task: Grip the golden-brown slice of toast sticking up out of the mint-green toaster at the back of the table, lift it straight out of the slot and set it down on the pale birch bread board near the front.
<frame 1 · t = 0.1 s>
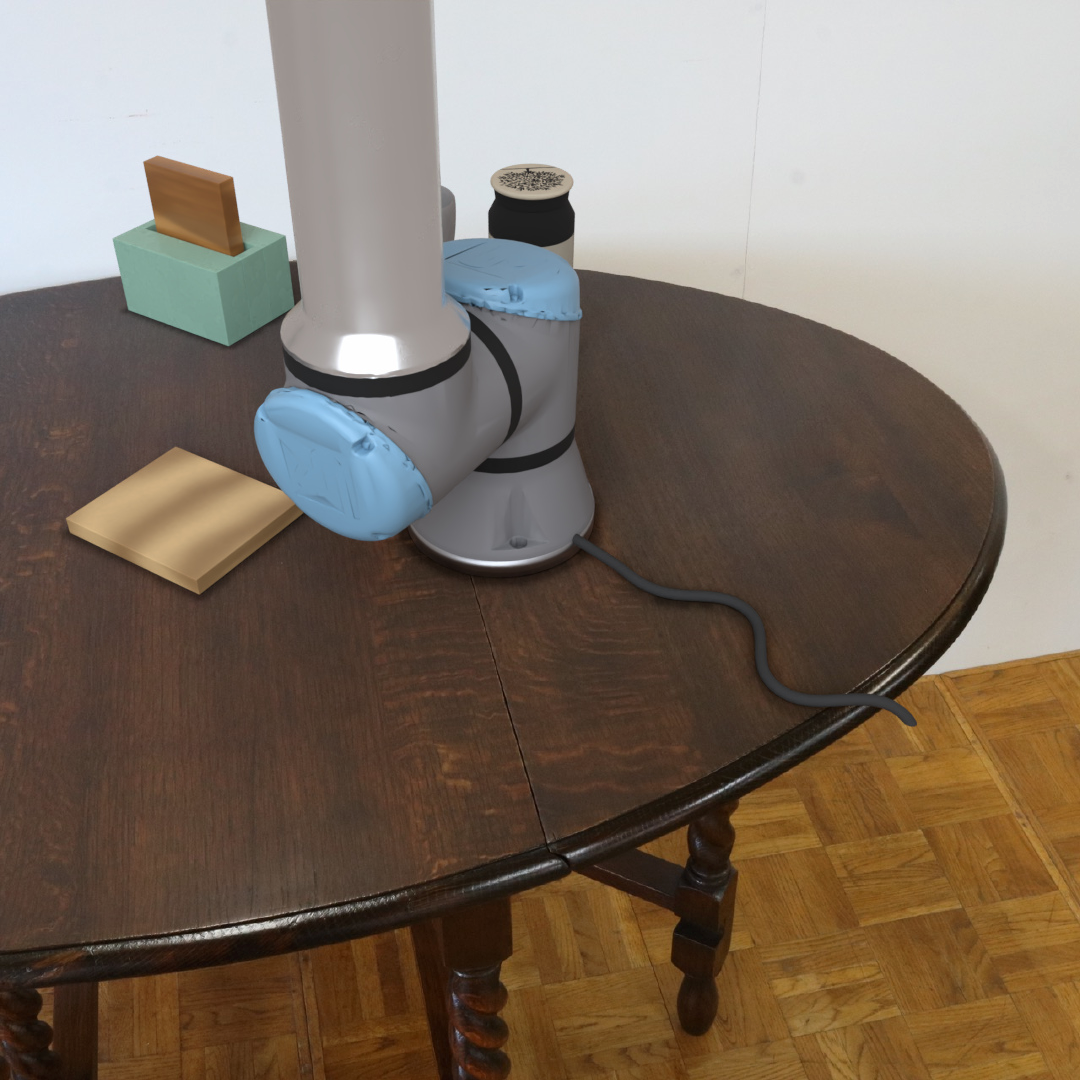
toaster: (211, 308, 124), on the table
mug: (403, 282, 130), on the table
remote control: (380, 343, 119), on the table
board: (188, 523, 96), on the table
travel mug: (530, 356, 118), on the table
toast: (207, 282, 122), point 3 cm above the table, touching toaster
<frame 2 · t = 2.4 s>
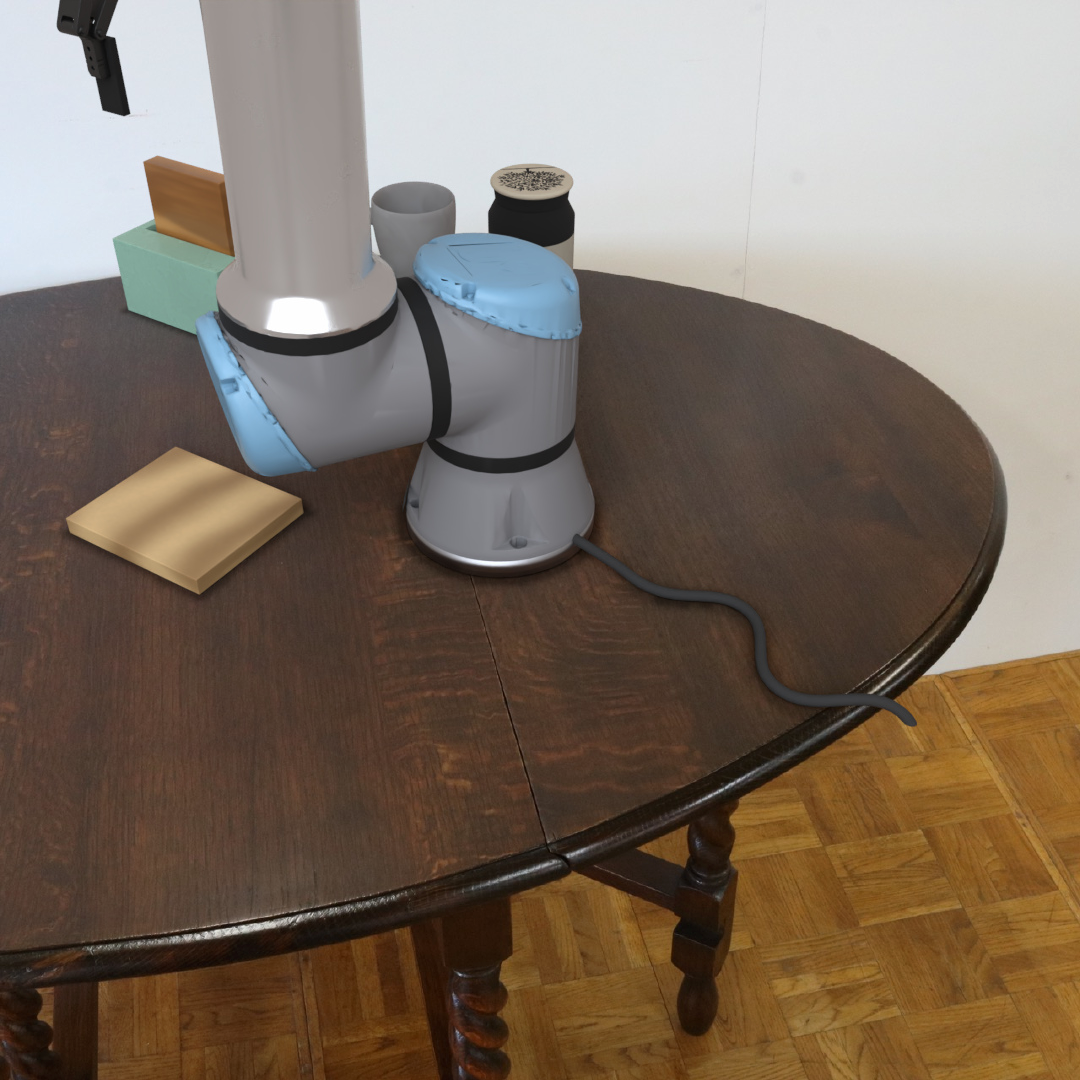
hand: (172, 91, 110), 22 cm above the table, tool pointing down, fingers open, 13 cm apart
nothing on the table moved.
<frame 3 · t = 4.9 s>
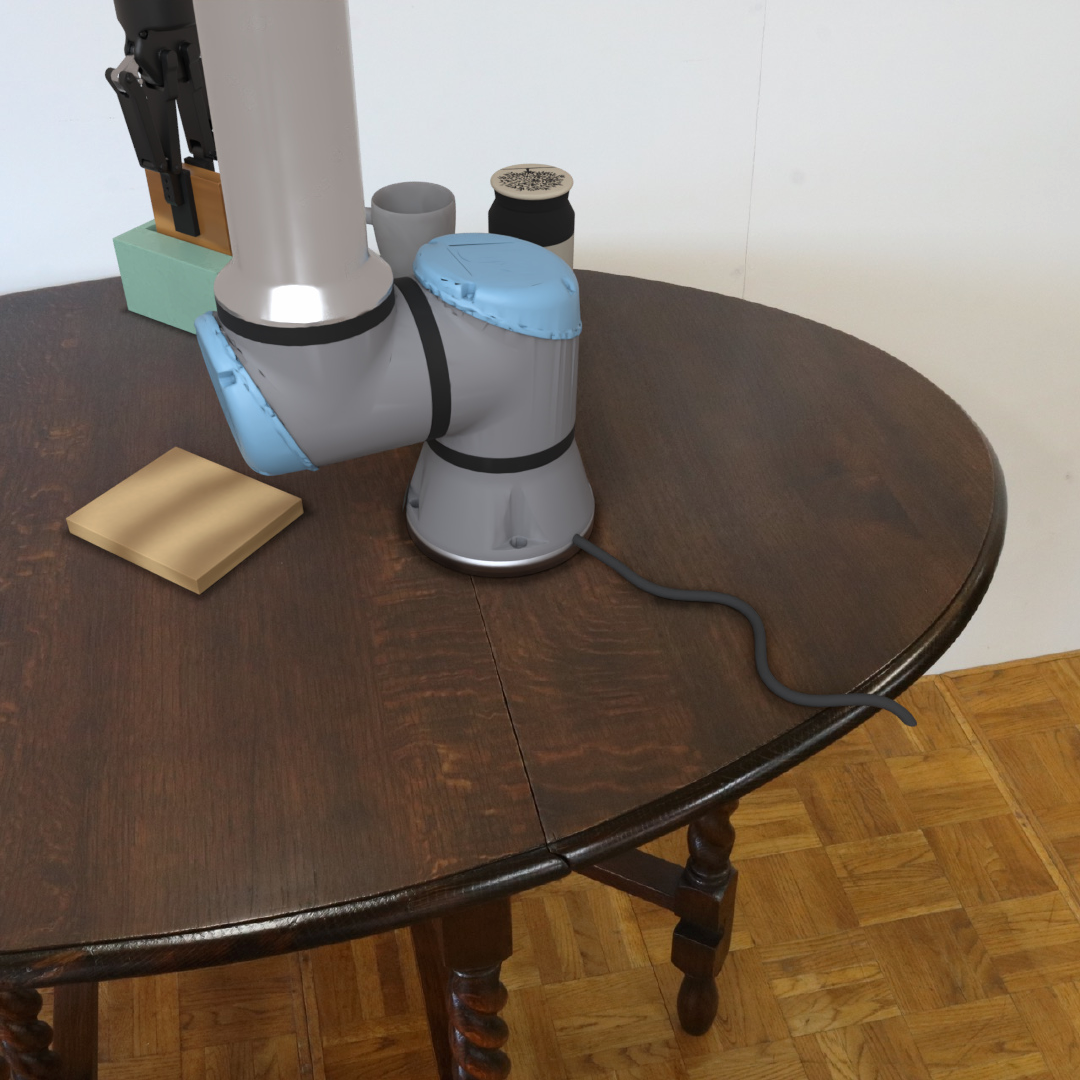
hand: (197, 227, 119), 9 cm above the table, tool pointing down, fingers closed on toast, 2 cm apart
toast: (207, 282, 122), point 3 cm above the table, touching gripper
everything else where it was.
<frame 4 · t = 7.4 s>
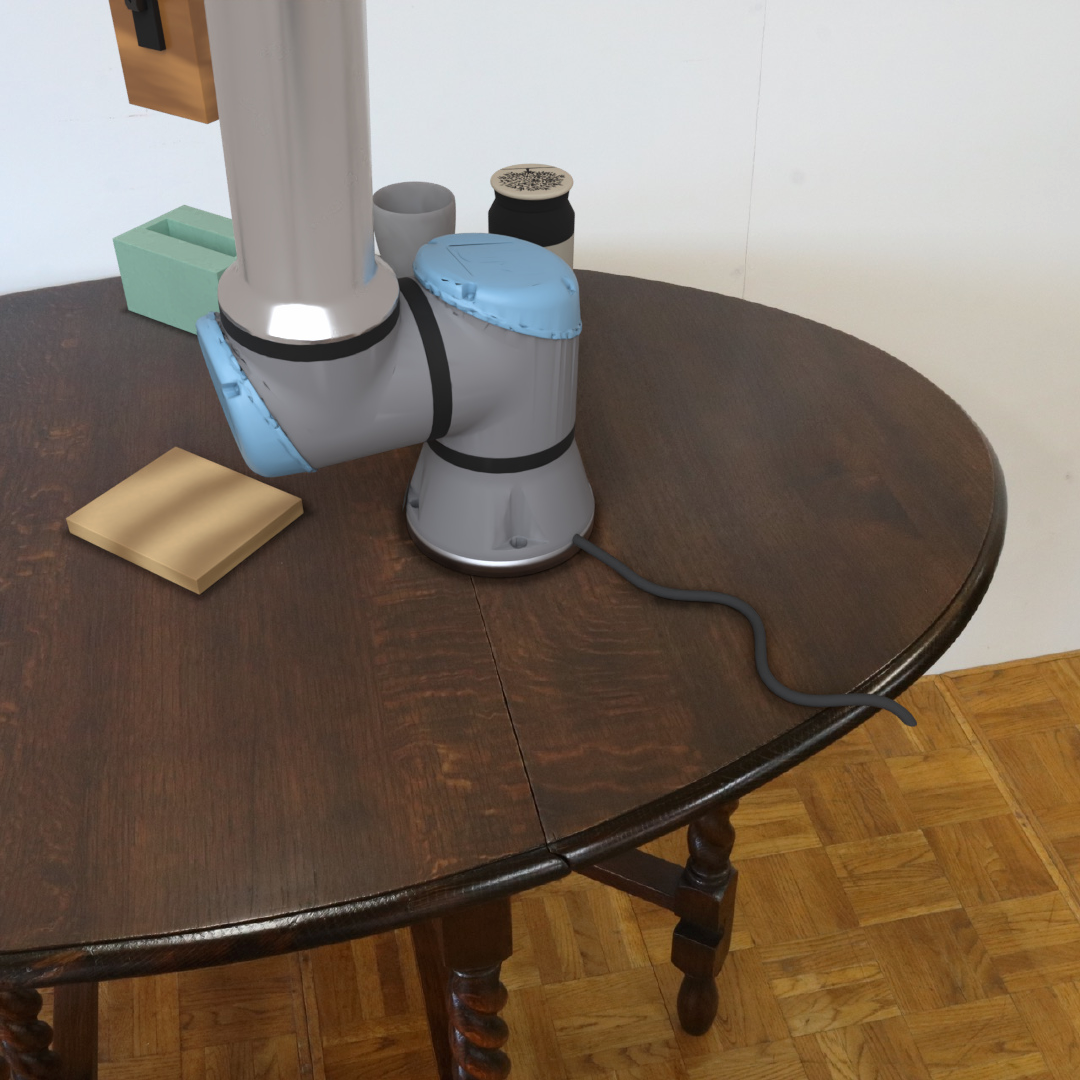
hand: (163, 43, 106), 27 cm above the table, tool pointing down, fingers closed on toast, 2 cm apart
toast: (175, 111, 109), point 21 cm above the table, touching gripper
everything else where it was.
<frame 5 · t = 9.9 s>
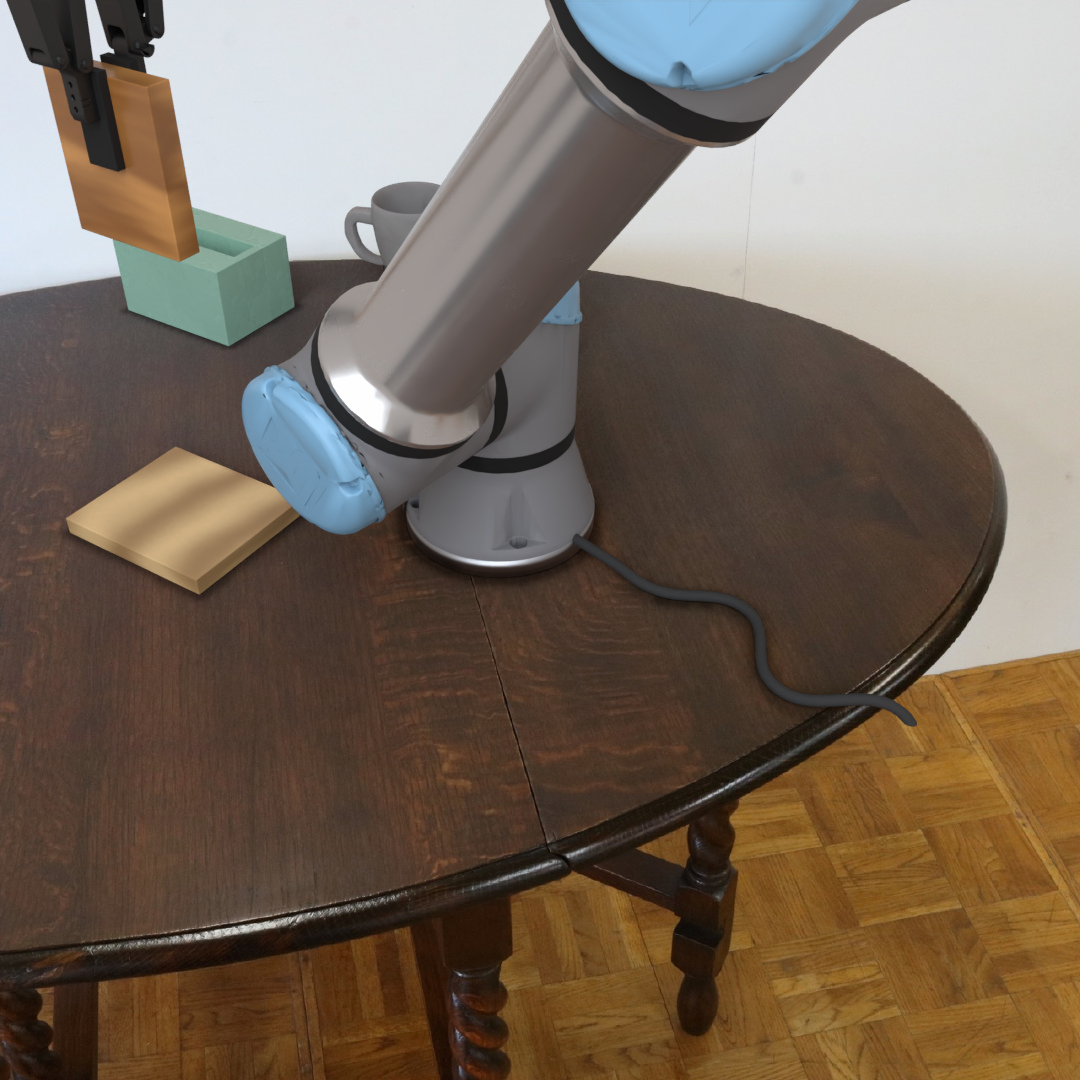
hand: (123, 159, 82), 28 cm above the table, tool pointing down, fingers closed on toast, 2 cm apart
toast: (139, 240, 85), point 22 cm above the table, touching gripper
everything else where it was.
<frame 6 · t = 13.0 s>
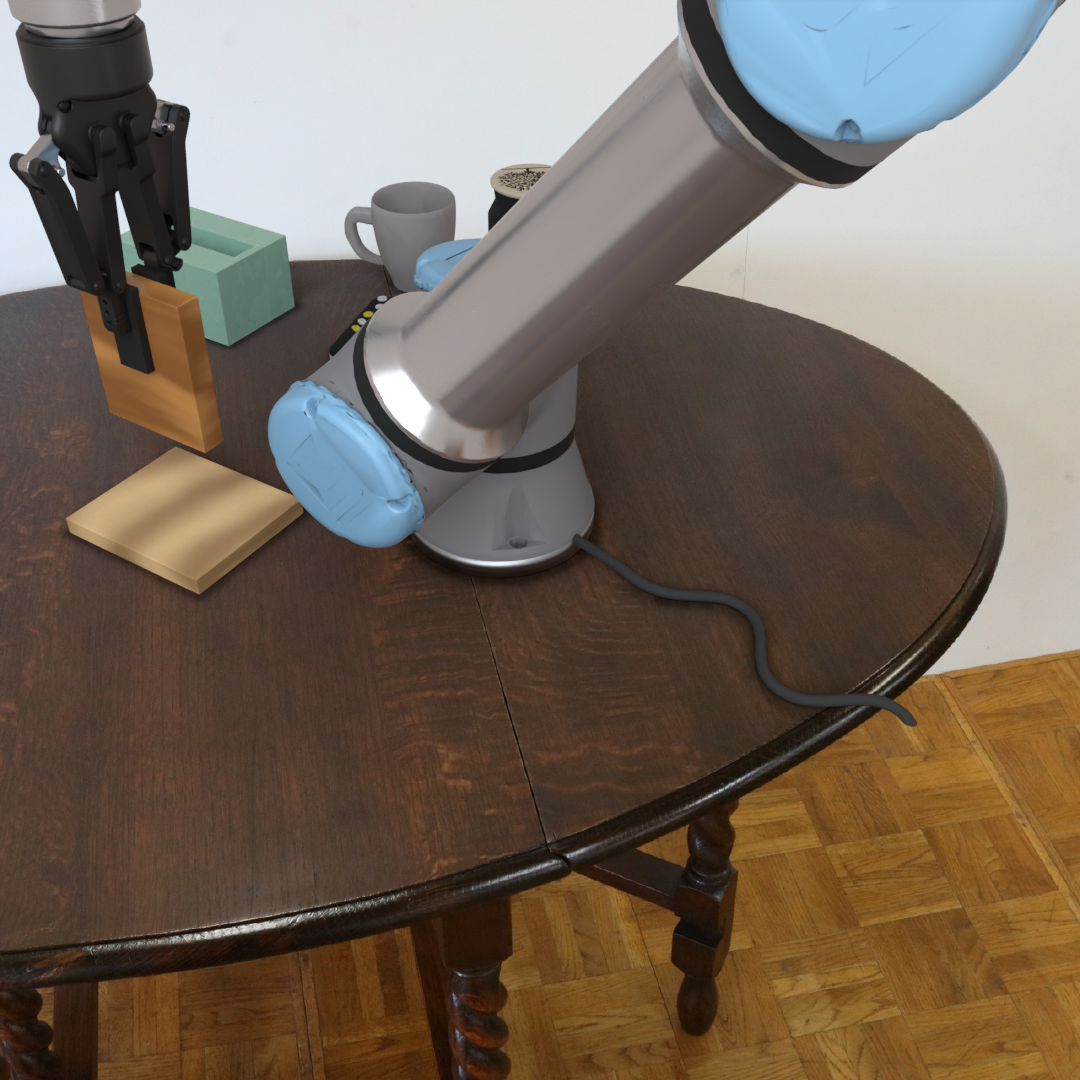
hand: (151, 358, 86), 15 cm above the table, tool pointing down, fingers closed on toast, 2 cm apart
toast: (166, 426, 90), point 9 cm above the table, touching gripper
everything else where it was.
when the fingers open (7 cm above the table, at t = 15.0 s): toast stays where it is, resting on board.
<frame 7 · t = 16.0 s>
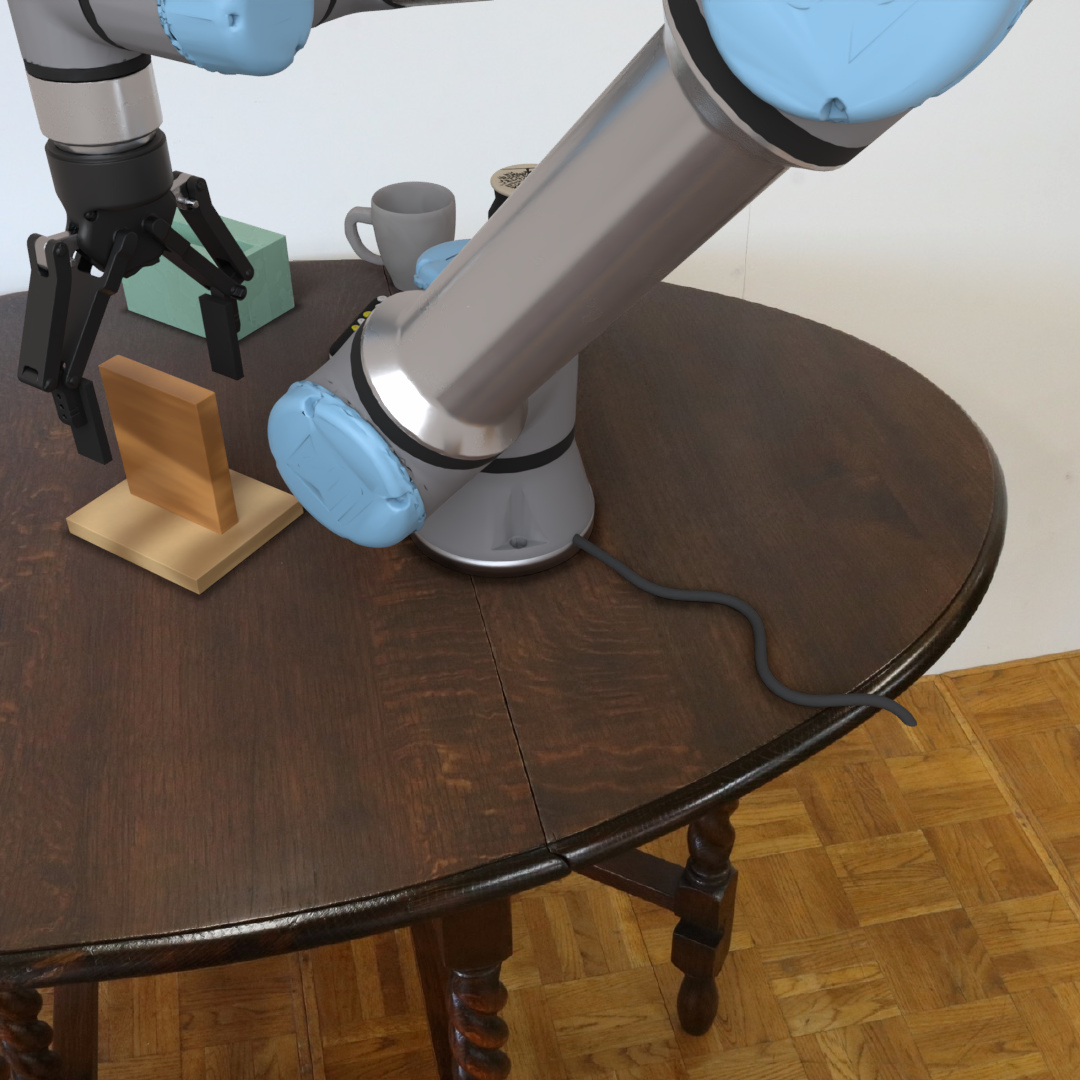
hand: (165, 413, 89), 10 cm above the table, tool pointing down, fingers open, 13 cm apart
toast: (183, 507, 95), point 1 cm above the table, touching board
everything else where it was.
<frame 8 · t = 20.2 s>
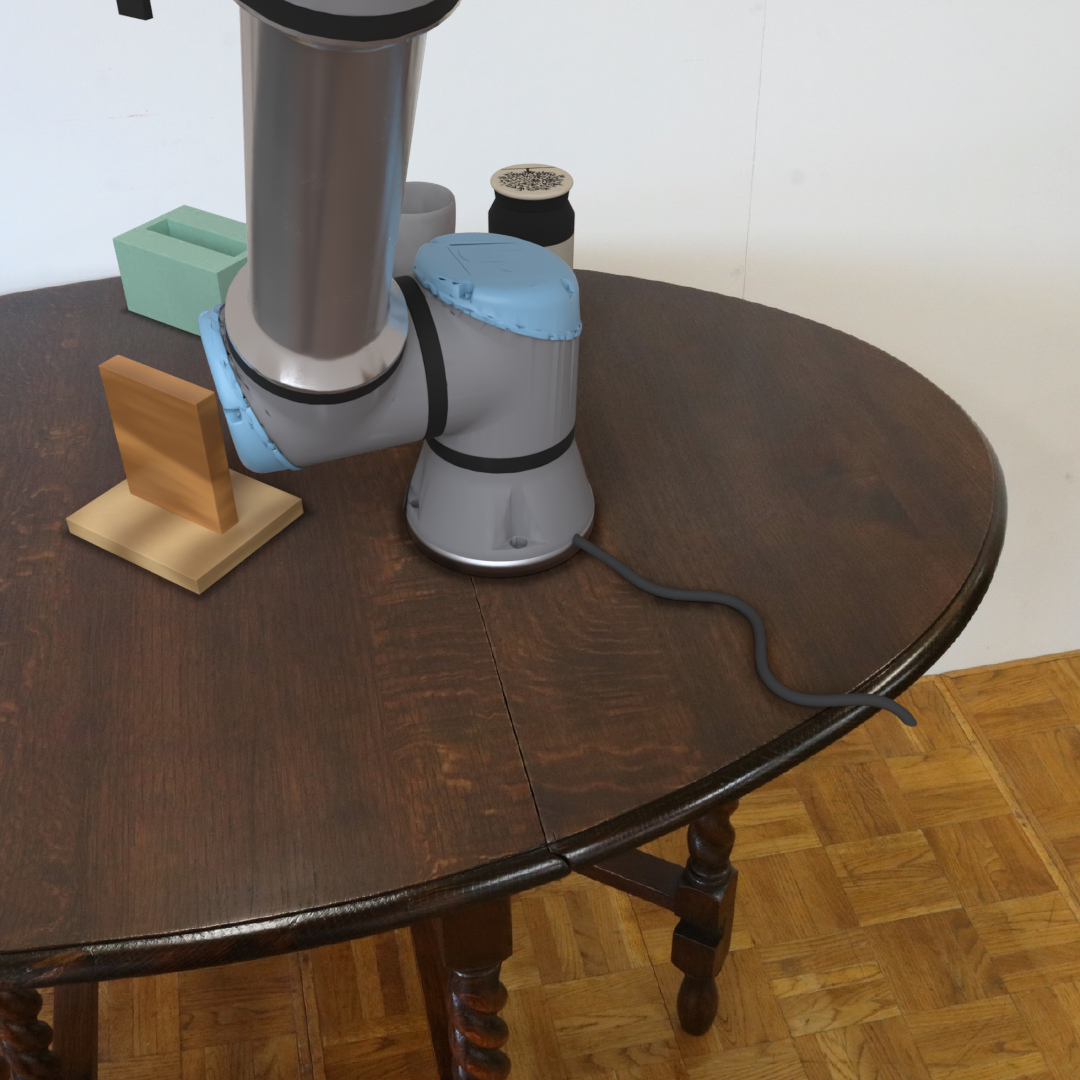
nothing on the table moved.
at the end: toast inside the target area on the board (0.1 cm from its centre), point 1.5 cm above the board's base; the gripper is holding nothing; toast moved 36.8 cm from its start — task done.
